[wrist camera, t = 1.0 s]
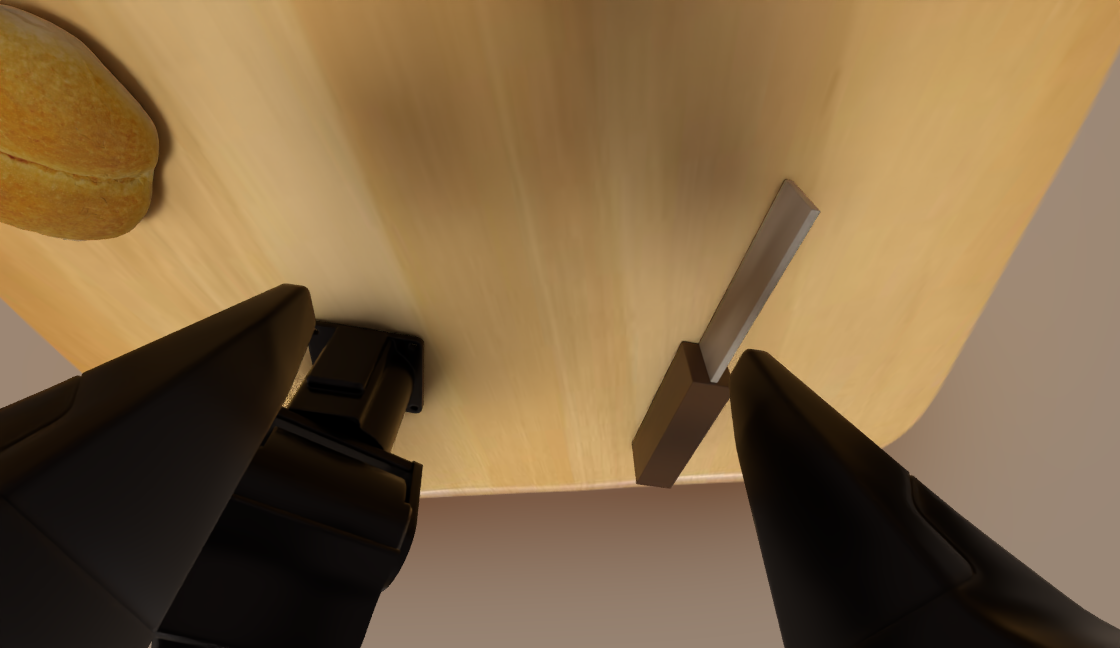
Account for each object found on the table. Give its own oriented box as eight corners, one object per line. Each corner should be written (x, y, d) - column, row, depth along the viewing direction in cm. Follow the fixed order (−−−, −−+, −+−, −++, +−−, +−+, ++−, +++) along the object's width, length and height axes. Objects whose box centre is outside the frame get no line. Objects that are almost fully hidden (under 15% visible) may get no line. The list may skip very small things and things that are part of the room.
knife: (663, 448, 33) (670, 489, 31) (631, 443, 33) (635, 484, 30) (814, 184, 20) (847, 218, 18) (763, 174, 20) (789, 206, 18)
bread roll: (181, 84, 19) (102, 112, 15) (157, 244, 23) (93, 290, 20) (-90, -71, 16) (-253, -74, 13) (-54, 148, 20) (-165, 185, 17)
